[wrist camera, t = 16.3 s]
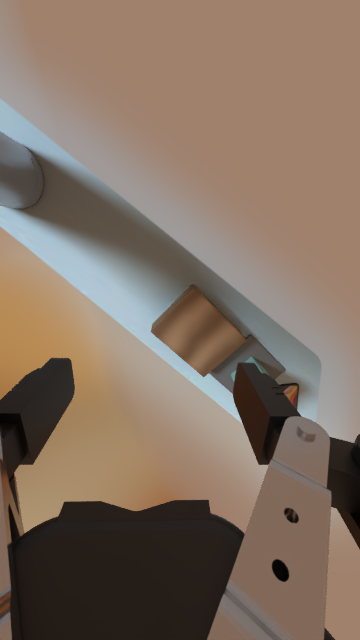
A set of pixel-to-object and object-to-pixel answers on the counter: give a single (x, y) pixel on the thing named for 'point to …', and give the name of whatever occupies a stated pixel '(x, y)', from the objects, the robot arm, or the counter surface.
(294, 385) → the smartphone
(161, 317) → the board
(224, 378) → the mat
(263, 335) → the counter surface
